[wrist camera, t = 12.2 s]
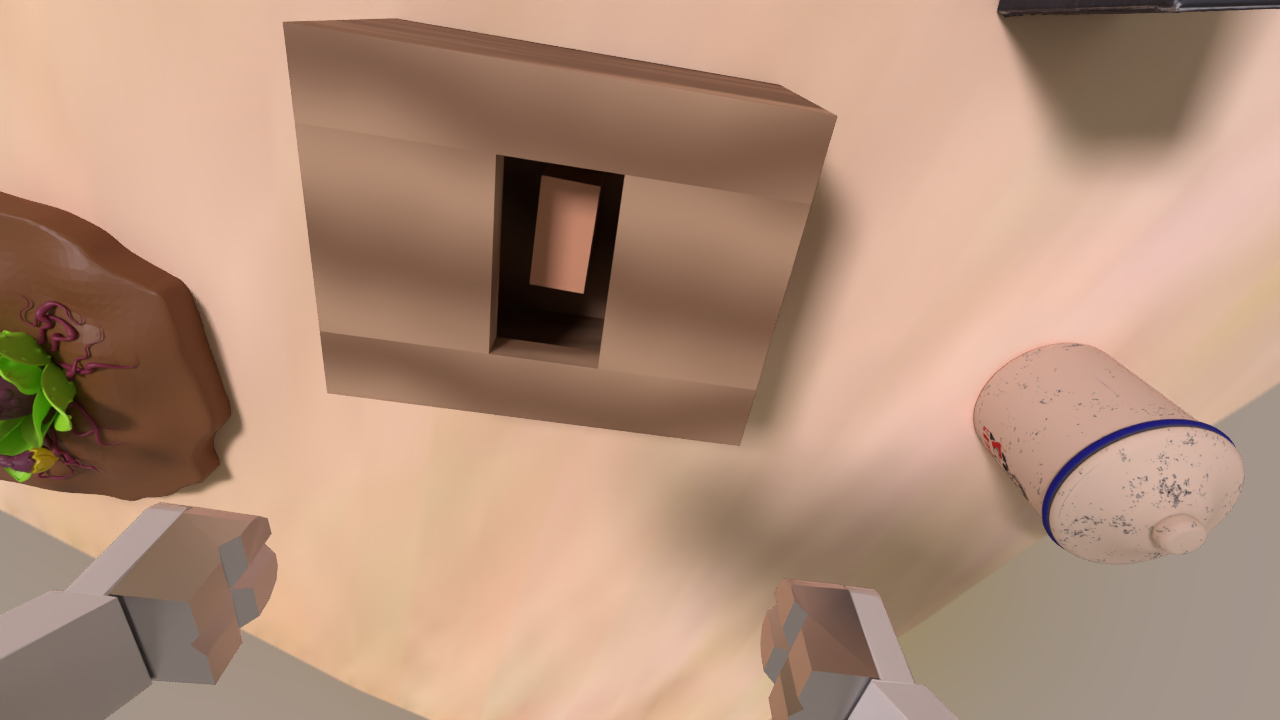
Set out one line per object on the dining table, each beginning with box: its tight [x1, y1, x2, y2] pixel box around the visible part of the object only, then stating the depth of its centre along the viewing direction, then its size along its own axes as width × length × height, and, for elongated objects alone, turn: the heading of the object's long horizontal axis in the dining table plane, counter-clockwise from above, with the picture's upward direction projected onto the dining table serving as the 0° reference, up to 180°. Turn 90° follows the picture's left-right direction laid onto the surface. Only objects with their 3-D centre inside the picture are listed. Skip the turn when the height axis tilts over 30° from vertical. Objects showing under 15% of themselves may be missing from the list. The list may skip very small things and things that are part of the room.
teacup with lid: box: [974, 343, 1244, 564], centre depth 33 cm, size 12×9×12 cm
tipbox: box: [283, 19, 837, 446], centre depth 27 cm, size 14×18×10 cm
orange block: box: [530, 163, 605, 294], centre depth 29 cm, size 5×2×5 cm, turn 169°
